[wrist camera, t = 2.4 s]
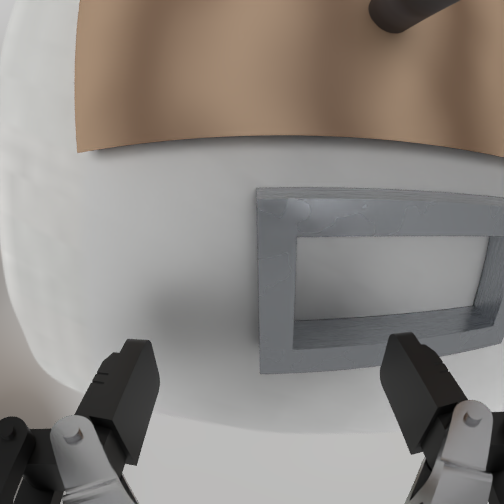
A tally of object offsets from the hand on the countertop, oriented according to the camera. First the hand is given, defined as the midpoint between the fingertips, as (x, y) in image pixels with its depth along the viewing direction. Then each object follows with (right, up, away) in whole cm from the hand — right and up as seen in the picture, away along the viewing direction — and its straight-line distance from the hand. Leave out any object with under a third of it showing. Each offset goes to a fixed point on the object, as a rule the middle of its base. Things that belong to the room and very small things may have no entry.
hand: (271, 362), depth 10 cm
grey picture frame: (+8, +3, +6) cm, 10 cm away
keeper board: (+3, +15, +2) cm, 15 cm away
